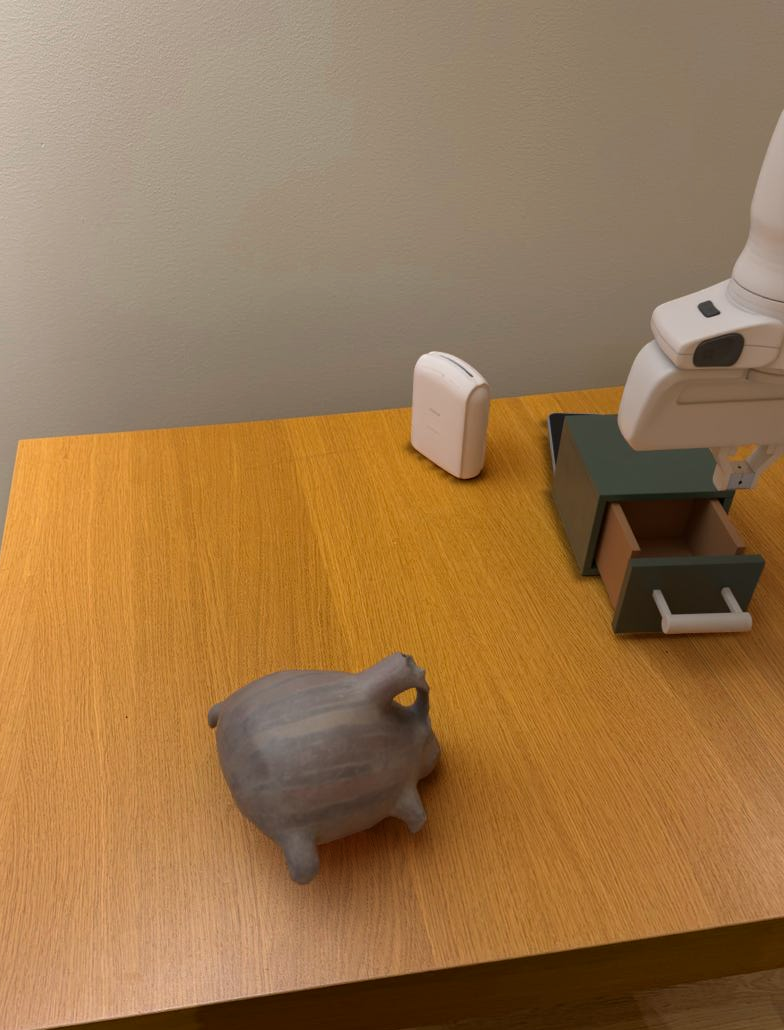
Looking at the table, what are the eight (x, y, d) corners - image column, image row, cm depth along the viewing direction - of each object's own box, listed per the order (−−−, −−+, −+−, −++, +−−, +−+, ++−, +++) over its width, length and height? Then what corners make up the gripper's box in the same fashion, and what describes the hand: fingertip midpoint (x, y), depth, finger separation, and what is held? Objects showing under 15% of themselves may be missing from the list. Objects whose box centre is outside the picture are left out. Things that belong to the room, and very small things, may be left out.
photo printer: (404, 445, 110) (409, 348, 102) (433, 434, 112) (440, 338, 103) (459, 484, 104) (468, 384, 95) (488, 473, 105) (500, 373, 97)
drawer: (760, 668, 80) (789, 600, 75) (629, 672, 80) (649, 605, 75) (691, 540, 94) (712, 475, 88) (579, 544, 94) (593, 479, 88)
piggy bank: (409, 678, 80) (462, 631, 67) (441, 866, 76) (505, 856, 62) (202, 699, 76) (215, 653, 63) (224, 897, 72) (243, 893, 59)
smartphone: (555, 481, 102) (547, 412, 113) (554, 488, 103) (545, 418, 113) (624, 484, 101) (609, 414, 112) (622, 491, 102) (607, 420, 113)
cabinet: (708, 571, 91) (736, 490, 85) (581, 575, 91) (599, 495, 85) (664, 489, 102) (686, 411, 95) (550, 493, 102) (564, 415, 96)
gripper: (913, 294, 67) (845, 458, 76) (631, 309, 67) (598, 470, 77) (960, 332, 62) (881, 502, 72) (657, 348, 63) (618, 514, 72)
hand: (733, 486), depth 74 cm, fingers closed
